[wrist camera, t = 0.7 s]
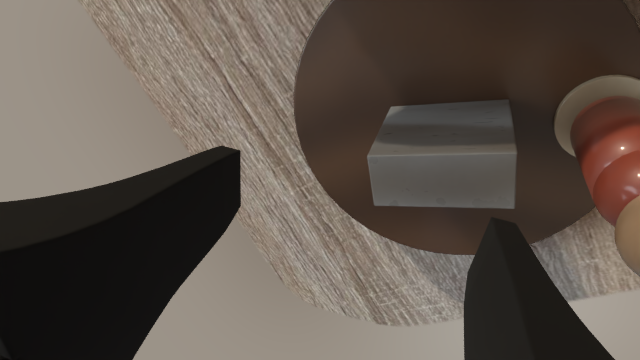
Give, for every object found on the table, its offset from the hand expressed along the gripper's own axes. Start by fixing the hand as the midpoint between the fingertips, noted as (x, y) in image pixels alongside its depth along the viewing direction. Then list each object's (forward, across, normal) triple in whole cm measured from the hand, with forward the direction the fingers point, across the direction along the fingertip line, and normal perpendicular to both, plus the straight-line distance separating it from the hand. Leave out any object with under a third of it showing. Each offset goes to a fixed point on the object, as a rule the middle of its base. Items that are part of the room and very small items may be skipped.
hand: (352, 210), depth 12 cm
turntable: (+10, -2, +1) cm, 10 cm away
